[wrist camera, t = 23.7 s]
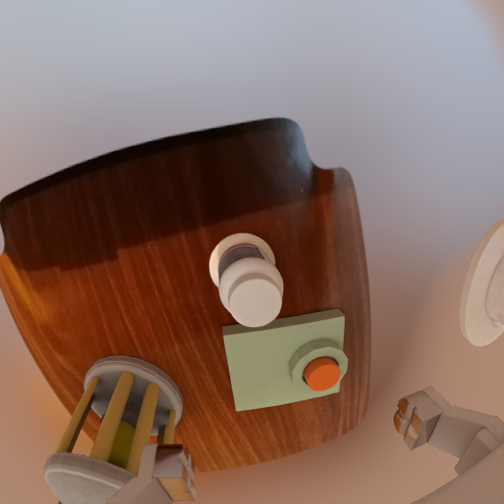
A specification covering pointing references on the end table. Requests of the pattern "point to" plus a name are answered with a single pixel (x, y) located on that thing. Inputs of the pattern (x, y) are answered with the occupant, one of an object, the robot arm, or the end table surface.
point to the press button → (322, 373)
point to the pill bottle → (249, 285)
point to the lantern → (114, 429)
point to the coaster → (229, 242)
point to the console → (282, 357)
